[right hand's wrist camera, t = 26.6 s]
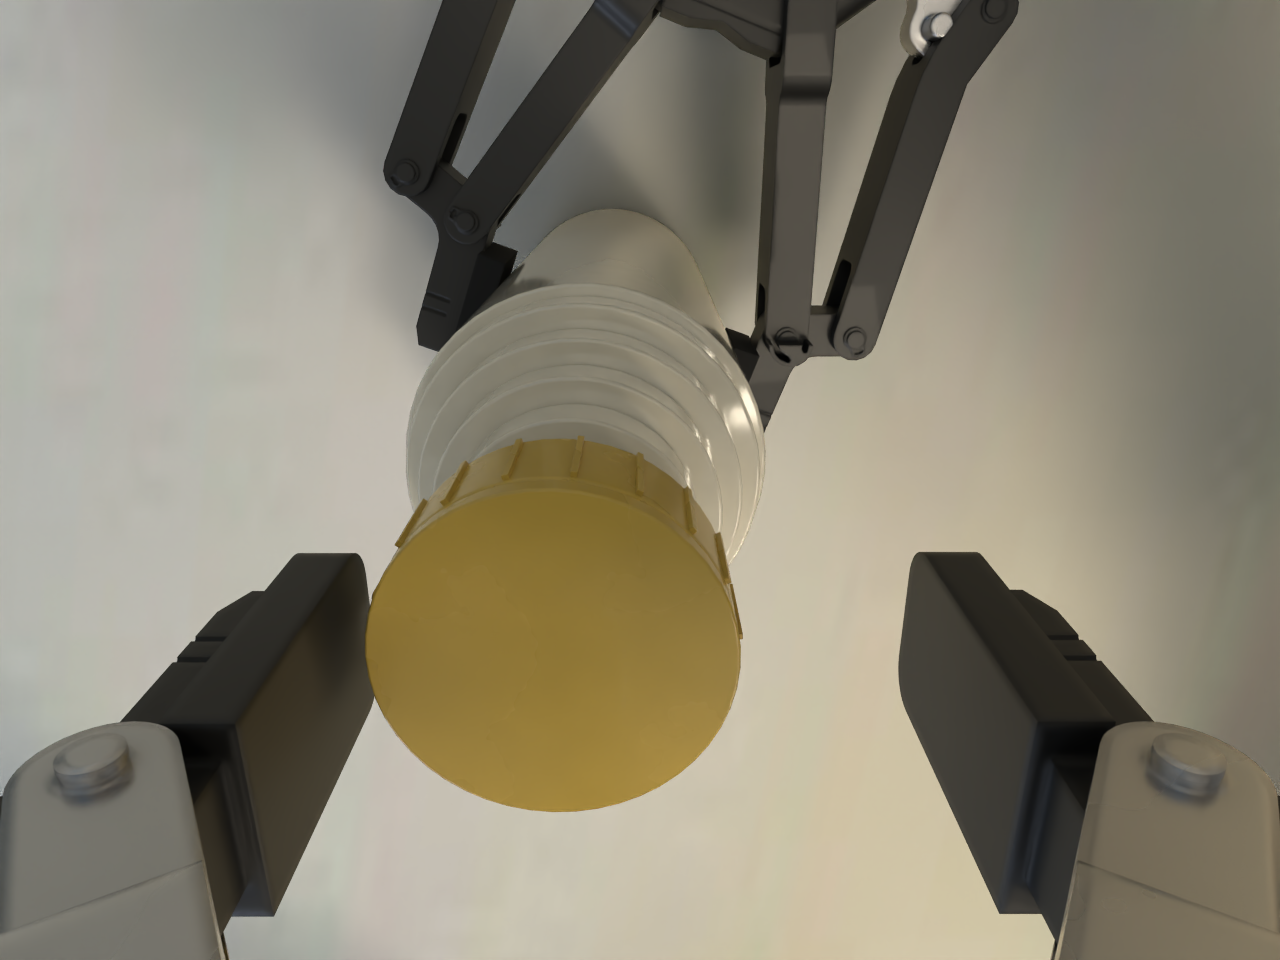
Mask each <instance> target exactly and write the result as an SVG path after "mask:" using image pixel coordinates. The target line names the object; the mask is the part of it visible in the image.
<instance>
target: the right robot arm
mask: <svg viewBox="0 0 1280 960" xmlns="http://www.w3.org/2000/svg"><path fill="white" fill-rule="evenodd" d="M369 608H370V603H369V595H368V588H367V580H366V573H365V567H364V564H363V561H362V559H361V557H360V556H359V555H358V554H357V553H298V554H296V555H294V556H293V557H292V558H291V560H290V561H289V562H288V563H287V564H286V566H285V567H284V568H283V569H282V571H281V572H280V573H279V574H278V575H277V577H276V578H275V579H274V580H273V582H272V583H271V584H270V585H269V586H268V588H267V589H266V590H265V591H252V592H250V593H248V594H247V595H245V596H243V597H242V598H240V599H238V600H237V601H235V602H233V603H232V604H230V605H228V606H227V607H225V608H223V609H221V610H220V611H218V612H217V613H216V614H215V615H214V616H213V617H212V618H211V620H210V621H209V622H208V623H207V624H206V625H205V626H204V628H203V629H202V630H201V631H200V632H199V633H198V634H197V635H196V640H195V642H190V643H189V645H188V646H187V647H186V648H185V649H184V650H183V651H182V652H181V654H180V655H179V656H178V657H177V658H178V660H177V662H173V663H172V664H171V665H170V666H169V667H168V668H167V669H166V671H165V672H164V673H163V674H162V675H161V676H160V677H159V679H158V680H157V681H156V682H155V683H154V684H153V685H152V686H151V688H150V689H149V690H148V691H147V692H146V693H145V694H144V696H143V697H142V698H141V699H140V700H139V701H138V702H137V703H136V705H135V706H134V707H133V708H132V709H131V710H130V711H129V713H128V714H127V715H126V716H125V717H124V718H123V719H122V720H121V722H119V723H112V724H106V725H102V726H98V727H94V728H91V729H87V730H84V731H81V732H78V733H76V734H73V735H71V736H68V737H66V738H64V739H62V740H60V741H58V742H56V743H54V744H52V745H50V746H48V747H46V748H45V749H43V750H41V751H40V752H38V753H37V754H35V755H34V756H33V757H31V758H30V759H29V760H27V761H26V762H25V763H24V764H23V765H22V766H21V767H20V768H19V769H17V770H16V772H15V773H14V774H13V775H12V777H11V778H10V779H9V781H8V783H7V785H6V786H5V788H4V792H3V796H1V797H0V960H230V959H229V954H228V950H227V946H226V941H225V937H224V933H223V931H224V929H225V927H226V925H227V924H228V922H229V920H230V918H231V916H274V915H275V913H276V911H277V909H278V906H279V904H280V902H281V900H282V898H283V896H284V894H285V891H286V889H287V887H288V885H289V883H290V881H291V879H292V876H293V874H294V872H295V870H296V868H297V866H298V864H299V862H300V859H301V857H302V855H303V853H304V851H305V849H306V847H307V844H308V842H309V840H310V838H311V836H312V834H313V832H314V829H315V827H316V825H317V823H318V821H319V819H320V817H321V814H322V812H323V810H324V808H325V806H326V804H327V802H328V799H329V797H330V795H331V793H332V791H333V789H334V787H335V785H336V782H337V780H338V778H339V776H340V774H341V772H342V770H343V767H344V765H345V763H346V761H347V759H348V757H349V755H350V752H351V750H352V748H353V746H354V744H355V742H356V740H357V737H358V735H359V733H360V731H361V729H362V727H363V725H364V722H365V720H366V718H367V716H368V714H369V712H370V709H371V707H372V704H373V700H374V693H373V689H372V686H371V683H370V680H369V676H368V670H367V664H366V658H365V630H366V623H367V616H368V611H369ZM898 669H899V685H900V692H901V697H902V701H903V704H904V707H905V710H906V712H907V714H908V716H909V718H910V720H911V723H912V725H913V727H914V729H915V731H916V733H917V736H918V738H919V740H920V742H921V744H922V747H923V749H924V751H925V753H926V755H927V757H928V760H929V762H930V764H931V766H932V768H933V770H934V773H935V775H936V777H937V779H938V781H939V783H940V786H941V788H942V790H943V792H944V794H945V796H946V799H947V801H948V803H949V805H950V807H951V809H952V812H953V814H954V816H955V818H956V820H957V823H958V825H959V827H960V829H961V831H962V833H963V836H964V838H965V840H966V842H967V844H968V846H969V849H970V851H971V853H972V855H973V857H974V859H975V862H976V864H977V866H978V868H979V870H980V872H981V875H982V877H983V879H984V881H985V883H986V885H987V888H988V890H989V892H990V894H991V896H992V898H993V901H994V903H995V905H996V907H997V909H998V912H999V914H1042V915H1043V917H1044V919H1045V921H1046V923H1047V925H1048V927H1049V929H1050V931H1051V933H1052V935H1053V937H1054V939H1055V941H1054V946H1053V950H1052V954H1051V959H1050V960H1280V796H1277V792H1276V788H1275V786H1274V785H1273V783H1272V781H1271V779H1270V778H1269V777H1268V775H1267V774H1266V773H1265V772H1264V770H1263V769H1261V768H1260V767H1259V766H1258V765H1257V764H1256V763H1255V762H1254V761H1253V760H1251V759H1250V758H1249V757H1247V756H1246V755H1245V754H1243V753H1242V752H1240V751H1239V750H1237V749H1235V748H1234V747H1232V746H1230V745H1228V744H1226V743H1224V742H1222V741H1220V740H1218V739H1216V738H1214V737H1212V736H1209V735H1207V734H1204V733H1202V732H1199V731H1196V730H1193V729H1189V728H1186V727H1182V726H1178V725H1174V724H1168V723H1161V722H1154V721H1153V720H1152V719H1151V718H1150V716H1149V715H1148V714H1147V713H1146V712H1145V711H1144V710H1143V708H1142V707H1141V706H1140V705H1139V704H1138V703H1137V702H1136V700H1135V699H1134V698H1133V697H1132V696H1131V695H1130V694H1129V692H1128V691H1127V690H1126V689H1125V688H1124V687H1123V685H1122V684H1121V683H1120V682H1119V681H1118V680H1117V679H1116V677H1115V676H1114V675H1113V674H1112V673H1111V672H1110V671H1109V669H1108V668H1107V667H1106V666H1105V665H1104V664H1103V663H1102V661H1097V660H1096V655H1095V653H1094V652H1093V651H1092V650H1091V649H1090V648H1089V647H1088V645H1087V644H1086V643H1085V642H1084V641H1083V640H1079V638H1078V634H1077V633H1076V632H1075V631H1074V629H1073V628H1072V627H1071V626H1070V625H1069V624H1068V623H1067V621H1066V620H1065V619H1064V618H1063V617H1062V616H1061V615H1060V613H1059V612H1058V611H1057V610H1055V609H1053V608H1052V607H1050V606H1048V605H1047V604H1045V603H1043V602H1042V601H1040V600H1038V599H1037V598H1035V597H1033V596H1032V595H1030V594H1028V593H1027V592H1025V591H1023V590H1009V588H1008V587H1007V586H1006V585H1005V583H1004V582H1003V581H1002V580H1001V578H1000V577H999V576H998V575H997V574H996V572H995V571H994V570H993V569H992V567H991V566H990V565H989V564H988V562H987V561H986V560H985V559H984V557H983V556H982V555H981V554H980V553H978V552H918V553H917V554H916V555H915V556H914V558H913V560H912V563H911V567H910V573H909V581H908V589H907V597H906V605H905V613H904V621H903V629H902V637H901V645H900V653H899V667H898Z"/></svg>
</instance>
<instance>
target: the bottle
mask: <svg viewBox="0 0 1280 960" xmlns="http://www.w3.org/2000/svg"><path fill="white" fill-rule="evenodd" d="M578 436H584V440H585V441H591V442H596V443H600V444H605V445H609V446H613V447H615V448H618V449H621V450H624V451H627V452H629V453H632V454H634V455H636V454H637V453H638V452H640V453H642V454H643V455H644V459H645V460H646V461H648V462H650V463H652V464H653V465H655V466H656V467H658V468H659V469H661V470H662V471H664V472H665V473H667V474H668V475H669V476H671V477H672V478H673V479H674V480H675V481H676V482H677V483H679V484H680V485H681V486H682V487H683V488H685V487H687V486H688V487H689V488H690V489H691V490H692V496H693V499H694V500H695V501H696V502H697V503H698V505H699V506H700V507H701V509H702V510H703V512H704V513H705V515H706V517H707V518H708V520H709V521H710V523H711V525H712V527H713V529H714V531H715V533H719V532H720V533H721V535H722V538H723V543H724V548H725V553H726V558H727V563H728V567H729V565H730V564H731V562H732V561H733V559H734V558H735V556H736V554H737V553H738V551H739V550H740V548H741V546H742V544H743V542H744V540H745V538H746V536H747V534H748V532H749V529H750V526H751V523H752V520H753V517H754V514H755V511H756V508H757V505H758V502H759V499H760V496H761V491H762V486H763V480H764V474H765V453H766V450H765V440H764V430H763V425H762V421H761V417H760V413H759V409H758V405H757V403H756V400H755V398H754V395H753V393H752V390H751V388H750V386H749V383H748V381H747V379H746V376H745V374H744V372H743V369H742V367H741V365H740V363H739V360H738V358H737V356H736V353H735V351H734V349H733V346H732V344H731V342H730V340H729V337H728V335H727V333H726V330H725V328H724V326H723V324H722V321H721V319H720V317H719V314H718V312H717V310H716V308H715V305H714V303H713V301H712V298H711V296H710V294H709V291H708V289H707V287H706V285H705V282H704V280H703V278H702V275H701V273H700V271H699V269H698V266H697V264H696V262H695V260H694V258H693V256H692V255H691V253H690V251H689V250H688V248H687V247H686V246H685V244H684V243H683V242H682V241H681V240H680V239H679V238H678V237H677V235H676V234H675V233H674V232H672V231H671V230H670V229H668V228H667V227H666V226H665V225H663V224H662V223H660V222H658V221H656V220H655V219H653V218H651V217H648V216H646V215H643V214H641V213H637V212H633V211H630V210H622V209H601V210H594V211H589V212H586V213H583V214H580V215H577V216H575V217H573V218H571V219H569V220H567V221H565V222H564V223H562V224H561V225H559V226H557V227H556V228H555V229H554V230H553V231H552V232H550V233H549V234H548V235H547V236H546V237H545V238H544V239H543V240H542V241H541V243H540V244H539V245H538V246H537V247H536V248H535V249H534V250H533V251H532V252H531V253H530V254H529V255H528V256H527V257H526V258H525V259H524V261H523V262H522V263H521V264H520V265H519V266H518V267H517V268H516V269H515V270H514V271H513V272H512V273H511V274H510V275H509V276H508V278H507V279H506V280H505V281H504V282H503V283H502V284H501V285H500V286H499V287H498V288H497V289H496V290H495V291H494V292H493V293H492V295H491V296H490V297H489V298H488V299H487V300H486V301H485V302H484V303H483V304H482V305H481V306H480V307H479V308H478V309H477V310H476V312H475V313H474V314H473V315H472V316H471V317H470V318H469V319H468V320H467V321H466V322H465V323H464V324H463V325H462V326H461V327H460V328H459V330H458V331H457V332H456V333H455V334H454V335H453V336H452V337H451V338H450V339H449V341H448V342H447V343H446V344H445V345H444V346H443V347H442V348H441V349H440V351H439V352H438V354H437V355H436V357H435V358H434V360H433V361H432V363H431V364H430V366H429V367H428V369H427V370H426V372H425V375H424V377H423V379H422V381H421V383H420V385H419V387H418V389H417V392H416V395H415V398H414V401H413V405H412V408H411V411H410V416H409V422H408V429H407V440H406V476H407V485H408V493H409V497H410V501H411V505H412V509H413V513H414V512H415V510H416V509H417V507H418V505H419V504H420V502H421V501H422V499H423V498H424V499H425V500H427V501H428V499H429V498H430V497H431V496H432V494H433V493H434V492H435V491H436V490H437V489H438V488H439V487H440V486H441V485H442V484H443V483H444V482H445V481H446V480H447V479H448V478H450V477H451V476H452V475H453V474H455V473H456V471H457V469H458V468H459V466H460V464H461V463H462V462H464V461H465V460H466V461H467V462H468V464H469V463H471V462H472V461H474V460H476V459H477V458H479V457H481V456H484V455H486V454H488V453H491V452H493V451H495V450H497V449H500V448H504V447H507V446H511V445H513V444H514V443H515V441H516V439H521V438H522V439H523V442H528V441H535V440H541V439H576V440H577V437H578Z"/></svg>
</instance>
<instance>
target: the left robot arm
mask: <svg viewBox="0 0 1280 960" xmlns="http://www.w3.org/2000/svg"><path fill="white" fill-rule="evenodd" d="M515 1H516V0H443V1H442V4H441V7H440V9H439V12H438V15H437V18H436V21H435V23H434V26H433V29H432V32H431V34H430V37H429V40H428V43H427V46H426V48H425V51H424V54H423V57H422V59H421V62H420V65H419V68H418V71H417V73H416V76H415V79H414V82H413V84H412V87H411V90H410V93H409V96H408V98H407V101H406V104H405V107H404V109H403V112H402V115H401V118H400V121H399V123H398V126H397V129H396V132H395V134H394V137H393V140H392V143H391V146H390V148H389V151H388V154H387V157H386V159H385V163H384V169H383V172H384V176H385V181H386V182H387V184H388V185H389V187H390V188H391V189H392V190H393V191H395V192H396V193H397V194H399V195H403V196H406V197H408V198H409V199H410V200H411V201H412V202H414V203H415V204H416V205H417V206H419V207H420V208H421V209H422V210H423V211H425V212H426V213H427V214H428V215H429V216H430V217H431V218H432V219H433V221H434V223H435V224H436V227H437V230H438V233H439V244H438V249H437V253H436V256H435V260H434V264H433V267H432V271H431V274H430V278H429V282H428V285H427V289H426V294H425V296H424V300H423V304H422V308H421V311H420V314H419V318H418V322H417V325H416V328H417V336H418V344H419V345H420V346H423V347H426V348H429V349H432V350H435V351H438V352H439V351H440V349H441V348H442V347H443V346H444V345H445V344H446V343H447V342H448V341H449V339H450V338H451V337H452V336H453V335H454V334H455V333H456V332H457V331H458V330H459V328H460V327H461V326H462V325H463V324H464V323H465V322H466V321H467V320H468V319H469V318H470V317H471V316H472V315H473V314H474V313H475V312H476V310H477V309H478V308H479V307H480V306H481V305H482V304H483V303H484V302H485V301H486V300H487V299H488V298H489V297H490V296H491V295H492V293H493V292H494V291H495V290H496V289H497V288H498V287H499V286H500V285H501V284H502V283H503V282H504V281H505V280H506V279H507V278H508V276H509V275H510V274H511V272H512V268H513V265H514V262H515V259H516V255H517V252H518V251H516V250H513V249H510V248H507V247H505V246H502V245H499V244H497V243H494V242H493V238H494V235H495V232H496V229H498V228H499V227H500V226H501V222H502V221H503V220H504V218H505V217H506V216H507V214H508V213H509V212H510V210H511V209H512V208H513V206H514V205H515V204H516V202H517V201H518V200H519V198H520V197H521V196H522V194H523V193H524V192H525V190H526V189H527V188H528V186H529V185H530V184H531V182H532V181H533V180H534V178H535V177H536V176H537V174H538V173H539V171H540V170H541V169H542V167H543V166H544V165H545V163H546V162H547V161H548V159H549V158H550V157H551V155H552V154H553V153H554V151H555V150H556V149H557V147H558V146H559V145H560V143H561V142H562V141H563V139H564V138H565V137H566V135H567V134H568V133H569V131H570V130H571V129H572V127H573V126H574V125H575V123H576V122H577V121H578V119H579V118H580V116H581V115H582V114H583V112H584V111H585V110H586V108H587V107H588V106H589V104H590V103H591V102H592V100H593V99H594V98H595V96H596V95H597V94H598V92H599V91H600V90H601V88H602V87H603V86H604V84H605V83H606V82H607V80H608V79H609V78H610V76H611V75H612V74H613V72H614V71H615V70H616V68H617V67H618V65H619V64H620V63H621V61H622V60H623V59H624V57H625V56H626V55H627V53H628V52H629V51H630V50H631V48H632V47H633V46H634V45H635V44H636V43H637V41H638V40H639V39H640V38H641V36H642V35H643V34H644V32H645V31H646V30H647V28H648V27H649V26H650V24H651V23H652V22H653V20H654V19H655V18H656V16H657V15H658V14H659V12H660V16H661V17H663V18H665V19H668V20H670V21H673V22H675V23H678V24H680V25H682V26H685V27H691V28H702V29H712V30H716V31H718V32H719V33H721V34H722V35H723V36H724V37H726V38H727V39H728V40H729V41H731V42H732V43H733V44H734V45H736V46H737V47H738V48H739V49H741V50H743V51H746V52H748V53H751V54H753V55H756V56H758V57H761V58H763V59H765V60H766V78H765V95H766V122H765V141H764V160H763V179H762V197H761V216H760V235H759V254H758V273H757V291H756V310H755V328H754V331H753V333H752V335H751V338H749V336H747V335H745V334H742V333H739V332H737V331H734V330H731V329H728V328H726V329H725V330H726V333H727V335H728V337H729V340H730V342H731V344H732V346H733V349H734V351H735V353H736V356H737V358H738V360H739V363H740V365H741V367H742V369H743V372H744V374H745V376H746V379H747V381H748V383H749V386H750V388H751V390H752V393H753V395H754V398H755V400H756V403H757V405H758V409H759V413H760V417H761V421H762V425H763V430H764V432H765V429H766V427H767V425H768V423H769V420H770V418H771V415H772V414H773V411H774V409H775V407H776V404H777V402H778V400H779V397H780V395H781V393H782V391H783V388H784V386H785V384H786V381H787V379H788V377H789V375H790V373H791V371H792V369H793V368H794V367H795V366H798V365H800V364H801V363H803V362H805V361H806V360H807V358H809V357H815V356H841V357H843V358H845V359H847V360H858V359H861V358H864V357H866V356H867V355H868V354H869V353H870V352H871V351H872V350H873V348H874V346H875V344H876V341H877V339H878V336H879V333H880V330H881V327H882V324H883V321H884V319H885V316H886V313H887V310H888V307H889V304H890V302H891V299H892V296H893V293H894V290H895V287H896V285H897V282H898V279H899V276H900V273H901V270H902V267H903V265H904V262H905V259H906V256H907V253H908V250H909V248H910V245H911V242H912V239H913V236H914V233H915V231H916V228H917V225H918V222H919V219H920V216H921V213H922V211H923V208H924V205H925V202H926V199H927V196H928V194H929V191H930V188H931V185H932V182H933V179H934V177H935V174H936V171H937V168H938V165H939V162H940V159H941V157H942V154H943V151H944V148H945V145H946V142H947V140H948V137H949V134H950V131H951V128H952V125H953V123H954V120H955V117H956V114H957V111H958V108H959V105H960V103H961V100H962V97H963V94H964V91H965V88H966V86H967V84H968V82H969V81H970V80H971V78H972V77H973V76H974V74H975V73H976V71H977V70H978V69H979V67H980V66H981V65H982V63H983V62H984V61H985V59H986V58H987V57H988V55H989V54H990V53H991V51H992V50H993V49H994V47H995V46H996V44H997V43H998V42H999V40H1000V39H1001V38H1002V36H1003V35H1004V34H1005V32H1006V31H1007V30H1008V28H1009V27H1010V26H1011V24H1012V23H1013V21H1014V19H1015V17H1016V15H1017V12H1018V5H1019V1H1018V0H906V1H907V11H906V15H905V18H904V20H903V23H902V25H901V28H900V41H901V44H902V46H903V48H904V50H905V51H906V52H907V53H908V54H909V57H908V59H907V60H906V62H905V64H904V66H903V68H902V70H901V72H900V74H899V76H898V78H897V80H896V82H895V85H894V88H893V90H892V93H891V95H890V98H889V101H888V105H887V108H886V111H885V114H884V117H883V120H882V123H881V126H880V129H879V132H878V135H877V138H876V141H875V145H874V148H873V151H872V154H871V157H870V160H869V163H868V166H867V169H866V172H865V175H864V178H863V182H862V185H861V188H860V191H859V194H858V197H857V200H856V203H855V206H854V209H853V212H852V215H851V219H850V222H849V225H848V228H847V231H846V234H845V237H844V240H843V243H842V246H841V249H840V252H839V255H838V259H837V262H836V265H835V268H834V271H833V274H832V277H831V280H830V283H829V286H828V289H827V292H826V296H825V299H824V302H823V305H822V306H811V298H812V285H813V272H814V259H815V245H816V232H817V219H818V206H819V193H820V179H821V166H822V153H823V140H824V127H825V114H826V102H827V97H828V94H829V91H830V87H831V82H832V73H833V60H834V47H835V35H836V29H837V28H838V27H839V26H841V25H842V24H844V23H845V22H846V21H848V20H849V19H851V18H852V17H853V16H855V15H856V14H858V13H859V12H860V11H862V10H863V9H865V8H866V7H867V6H869V5H870V4H872V3H873V2H874V1H876V0H595V1H594V3H593V4H592V6H591V8H590V9H589V10H588V12H587V13H586V15H585V16H584V17H583V19H582V20H581V22H580V23H579V24H578V26H577V27H576V29H575V30H574V31H573V33H572V34H571V35H570V37H569V38H568V40H567V41H566V42H565V44H564V45H563V47H562V48H561V49H560V51H559V52H558V54H557V55H556V56H555V58H554V59H553V60H552V62H551V63H550V65H549V66H548V67H547V69H546V70H545V72H544V73H543V74H542V76H541V77H540V79H539V80H538V81H537V83H536V84H535V85H534V87H533V88H532V90H531V91H530V92H529V94H528V95H527V97H526V98H525V99H524V101H523V102H522V104H521V105H520V106H519V108H518V109H517V111H516V112H515V113H514V115H513V116H512V117H511V119H510V120H509V122H508V123H507V124H506V126H505V127H504V129H503V130H502V131H501V133H500V134H499V136H498V137H497V138H496V140H495V141H494V142H493V144H492V145H491V147H490V148H489V149H488V151H487V152H486V154H485V155H484V156H483V158H482V159H481V161H480V162H479V163H478V165H477V166H476V167H475V169H474V170H473V172H472V173H471V174H470V176H469V177H468V179H467V178H465V177H464V176H463V175H462V174H461V173H459V172H458V171H457V170H456V169H455V168H454V167H452V164H453V161H454V158H455V156H456V153H457V151H458V148H459V145H460V143H461V140H462V138H463V135H464V133H465V130H466V127H467V125H468V122H469V120H470V117H471V114H472V112H473V109H474V107H475V104H476V102H477V99H478V96H479V94H480V91H481V89H482V86H483V83H484V81H485V78H486V76H487V73H488V70H489V68H490V65H491V63H492V60H493V58H494V55H495V52H496V50H497V47H498V45H499V42H500V39H501V37H502V34H503V32H504V29H505V27H506V24H507V21H508V19H509V16H510V14H511V11H512V8H513V6H514V3H515ZM492 242H493V243H492Z"/></svg>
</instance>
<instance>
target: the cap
mask: <svg viewBox="0 0 1280 960" xmlns="http://www.w3.org/2000/svg"><path fill="white" fill-rule="evenodd" d="M395 546H397V547H398V550H397V551H396V553H395V555H394V556H393V558H392V560H391V562H390V563H389V565H388V567H387V568H386V570H385V572H384V574H383V576H382V578H381V580H380V582H379V584H378V585H377V587H376V589H375V590H374V592H373V594H372V602H371V605H370V608H369V611H368V616H367V623H366V630H365V658H366V664H367V670H368V676H369V680H370V683H371V686H372V689H373V693H374V696H375V699H376V701H377V703H378V705H379V707H380V709H381V711H382V713H383V715H384V717H385V719H386V720H387V722H388V723H389V725H390V726H391V728H392V729H393V731H394V732H395V734H396V735H397V737H398V738H399V739H400V740H401V741H402V742H403V744H404V745H405V746H406V747H407V748H408V749H409V750H410V752H411V753H412V754H414V755H415V756H416V757H417V758H418V759H419V760H420V761H421V762H422V763H424V764H425V765H426V766H427V767H428V768H430V769H431V770H432V771H434V772H435V773H437V774H438V775H439V776H441V777H442V778H444V779H445V780H447V781H449V782H450V783H452V784H454V785H456V786H458V787H459V788H461V789H463V790H465V791H467V792H469V793H472V794H474V795H477V796H479V797H481V798H484V799H486V800H490V801H493V802H496V803H500V804H503V805H506V806H511V807H516V808H522V809H527V810H535V811H547V812H573V811H583V810H591V809H598V808H602V807H607V806H611V805H615V804H619V803H622V802H625V801H628V800H630V799H633V798H636V797H639V796H641V795H643V794H645V793H647V792H649V791H651V790H653V789H655V788H657V787H660V786H661V785H663V784H664V783H666V782H667V781H669V780H670V779H672V778H673V777H675V776H677V775H678V774H679V773H680V772H682V771H683V770H684V769H685V768H686V767H688V766H689V765H690V764H691V763H692V762H693V761H695V760H696V758H697V757H698V756H699V755H700V754H701V753H702V752H703V751H704V750H705V749H706V747H707V746H708V745H709V744H710V742H711V741H712V740H713V738H714V737H715V735H716V734H717V732H718V731H719V729H720V728H721V726H722V724H723V722H724V720H725V718H726V716H727V714H728V712H729V710H730V708H731V705H732V702H733V699H734V696H735V693H736V690H737V685H738V679H739V673H740V663H741V645H740V639H743V633H742V628H741V623H740V618H739V613H738V609H737V604H736V599H735V594H734V589H733V584H729V583H731V578H730V573H729V568H728V563H727V558H726V553H725V548H724V543H723V538H722V535H721V533H720V532H719V533H715V531H714V529H713V527H712V525H711V523H710V521H709V520H708V518H707V517H706V515H705V513H704V512H703V510H702V509H701V507H700V506H699V505H698V503H697V502H696V501H695V500H694V499H693V496H692V490H691V489H690V488H689V487H688V486H687V487H685V488H683V487H682V486H681V485H680V484H679V483H677V482H676V481H675V480H674V479H673V478H672V477H671V476H669V475H668V474H667V473H665V472H664V471H662V470H661V469H659V468H658V467H656V466H655V465H653V464H652V463H650V462H648V461H646V460H645V459H644V455H643V454H642V453H640V452H638V453H637V454H636V455H634V454H632V453H629V452H627V451H624V450H621V449H618V448H615V447H613V446H609V445H605V444H600V443H596V442H591V441H585V440H584V436H578V437H577V440H576V439H541V440H535V441H528V442H523V439H522V438H521V439H516V441H515V443H514V444H513V445H511V446H507V447H504V448H500V449H497V450H495V451H493V452H491V453H488V454H486V455H484V456H481V457H479V458H477V459H476V460H474V461H472V462H471V463H469V464H468V462H467V461H466V460H465V461H464V462H462V463H461V464H460V466H459V468H458V469H457V471H456V473H455V474H453V475H452V476H451V477H450V478H448V479H447V480H446V481H445V482H444V483H443V484H442V485H441V486H440V487H439V488H438V489H437V490H436V491H435V492H434V493H433V494H432V496H431V497H430V498H429V499H428V501H427V500H425V499H424V498H423V499H422V501H421V502H420V504H419V505H418V507H417V509H416V510H415V512H414V514H413V515H412V517H411V519H410V520H409V522H408V524H407V525H406V527H405V528H404V530H403V532H402V533H401V535H400V537H399V538H398V540H397V542H396V543H395Z"/></svg>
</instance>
